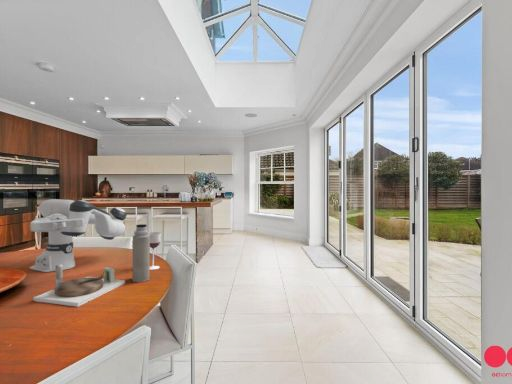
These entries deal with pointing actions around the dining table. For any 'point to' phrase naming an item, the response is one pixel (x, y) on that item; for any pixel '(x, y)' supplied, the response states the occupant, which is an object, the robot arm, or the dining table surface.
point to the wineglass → (154, 245)
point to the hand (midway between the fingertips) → (59, 225)
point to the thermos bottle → (141, 254)
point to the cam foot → (76, 284)
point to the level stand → (108, 285)
